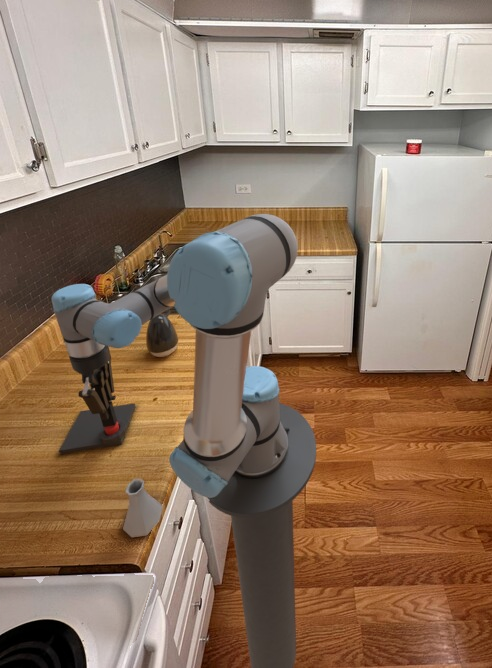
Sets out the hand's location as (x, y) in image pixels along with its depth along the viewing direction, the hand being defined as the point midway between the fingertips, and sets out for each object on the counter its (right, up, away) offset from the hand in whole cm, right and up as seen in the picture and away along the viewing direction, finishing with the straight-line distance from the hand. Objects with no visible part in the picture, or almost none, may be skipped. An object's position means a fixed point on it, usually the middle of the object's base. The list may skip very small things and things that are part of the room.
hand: (110, 423), depth 85 cm
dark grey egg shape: (-1, +8, +33) cm, 34 cm away
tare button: (0, -2, +1) cm, 2 cm away
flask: (+17, -12, -15) cm, 25 cm away
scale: (-5, -4, +4) cm, 7 cm away
